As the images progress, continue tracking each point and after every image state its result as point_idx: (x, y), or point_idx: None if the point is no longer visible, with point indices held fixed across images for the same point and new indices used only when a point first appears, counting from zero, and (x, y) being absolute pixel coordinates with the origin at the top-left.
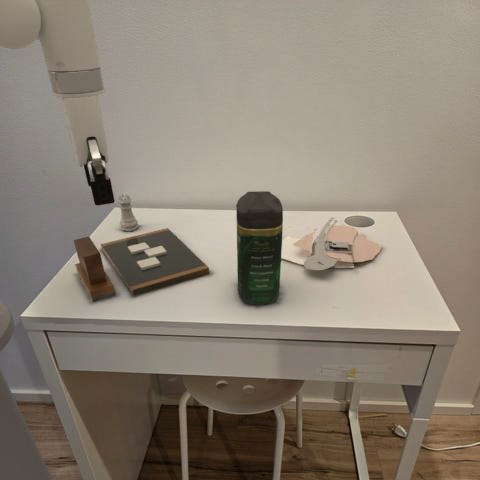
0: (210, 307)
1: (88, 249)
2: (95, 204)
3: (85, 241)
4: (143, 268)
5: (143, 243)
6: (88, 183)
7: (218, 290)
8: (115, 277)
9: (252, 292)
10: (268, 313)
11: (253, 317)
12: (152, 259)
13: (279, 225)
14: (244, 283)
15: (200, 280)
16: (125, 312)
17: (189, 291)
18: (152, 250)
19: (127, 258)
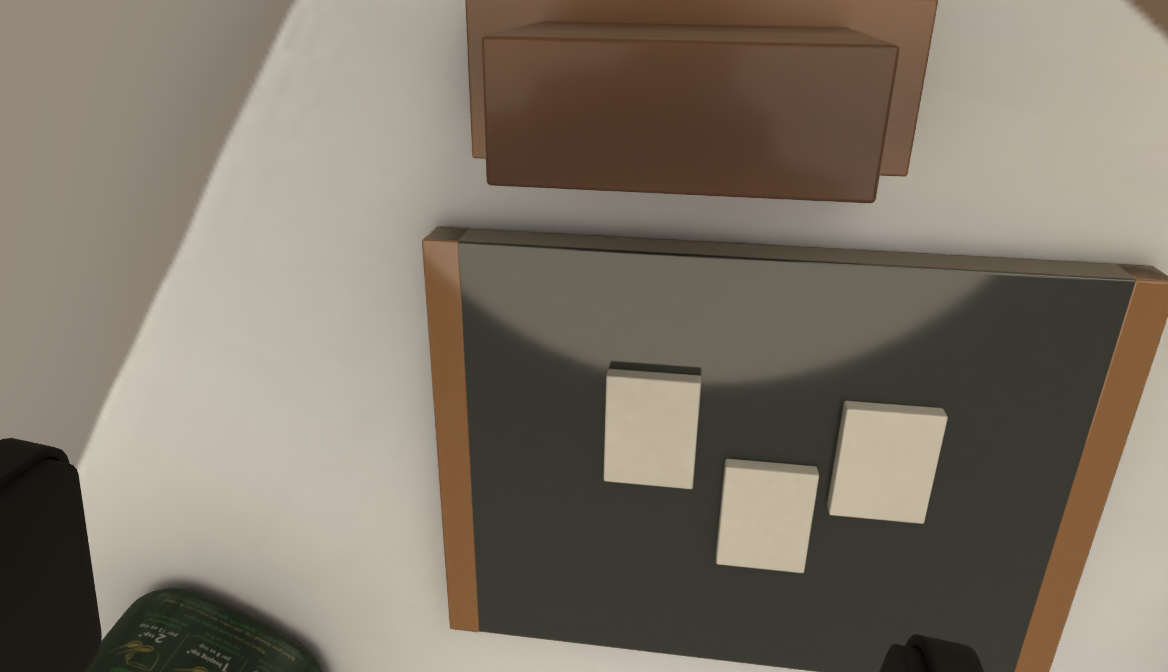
0: (196, 473)
1: (599, 118)
2: (10, 442)
3: (783, 141)
4: (608, 382)
5: (911, 509)
6: (938, 670)
7: (310, 561)
8: (705, 213)
9: None
10: None
11: None
12: (666, 464)
13: None
14: (96, 660)
15: (426, 547)
16: (305, 131)
17: (357, 466)
18: (778, 510)
19: (812, 355)
